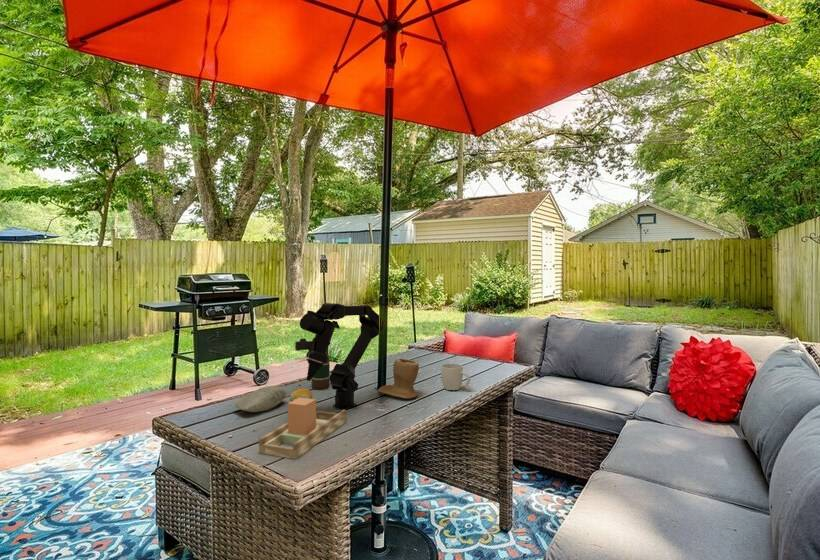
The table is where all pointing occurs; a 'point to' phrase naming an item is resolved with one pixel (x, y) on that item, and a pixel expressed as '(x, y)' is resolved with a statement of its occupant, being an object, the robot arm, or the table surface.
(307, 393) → the bread roll
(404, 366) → the brown boot
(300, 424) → the terracotta block
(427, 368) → the table surface
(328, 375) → the beer bottle
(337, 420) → the wooden compartment tray
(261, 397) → the rock
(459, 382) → the mug
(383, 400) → the table surface
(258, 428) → the table surface
